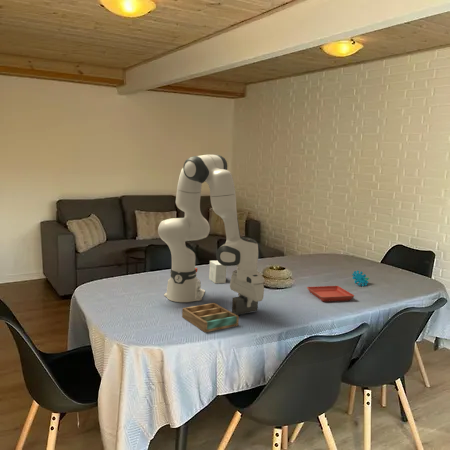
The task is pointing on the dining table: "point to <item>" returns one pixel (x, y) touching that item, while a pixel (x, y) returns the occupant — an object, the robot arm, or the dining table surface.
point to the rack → (210, 317)
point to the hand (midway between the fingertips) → (245, 305)
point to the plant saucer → (330, 293)
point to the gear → (360, 278)
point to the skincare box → (217, 272)
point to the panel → (243, 305)
